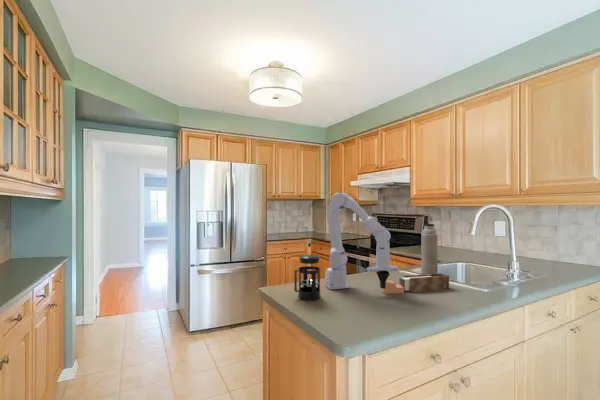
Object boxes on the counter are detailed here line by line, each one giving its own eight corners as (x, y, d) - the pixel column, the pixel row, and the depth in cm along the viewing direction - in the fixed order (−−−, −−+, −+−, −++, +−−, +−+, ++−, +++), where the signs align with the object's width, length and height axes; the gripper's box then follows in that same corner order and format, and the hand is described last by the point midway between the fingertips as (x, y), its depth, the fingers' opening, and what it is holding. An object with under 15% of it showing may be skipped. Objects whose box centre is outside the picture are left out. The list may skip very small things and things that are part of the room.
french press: (316, 292, 134) (316, 240, 134) (326, 298, 125) (325, 242, 126) (291, 295, 130) (291, 241, 130) (299, 302, 121) (299, 244, 121)
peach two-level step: (385, 293, 133) (386, 283, 133) (382, 290, 138) (382, 280, 137) (403, 293, 134) (403, 283, 133) (399, 289, 138) (399, 280, 138)
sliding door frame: (411, 292, 135) (411, 278, 135) (403, 288, 140) (403, 275, 140) (449, 289, 139) (449, 276, 139) (440, 285, 145) (440, 273, 145)
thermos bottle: (421, 273, 170) (421, 223, 170) (437, 275, 166) (437, 223, 167) (420, 276, 162) (420, 224, 163) (437, 278, 159) (437, 224, 159)
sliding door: (403, 290, 135) (403, 279, 135) (399, 289, 138) (399, 277, 138) (434, 288, 139) (434, 277, 139) (430, 286, 142) (430, 275, 142)
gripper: (372, 259, 129) (371, 291, 129) (402, 258, 133) (402, 289, 133) (364, 256, 136) (364, 287, 136) (394, 255, 139) (393, 285, 139)
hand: (382, 288), depth 135 cm, fingers closed, pressing on peach two-level step
